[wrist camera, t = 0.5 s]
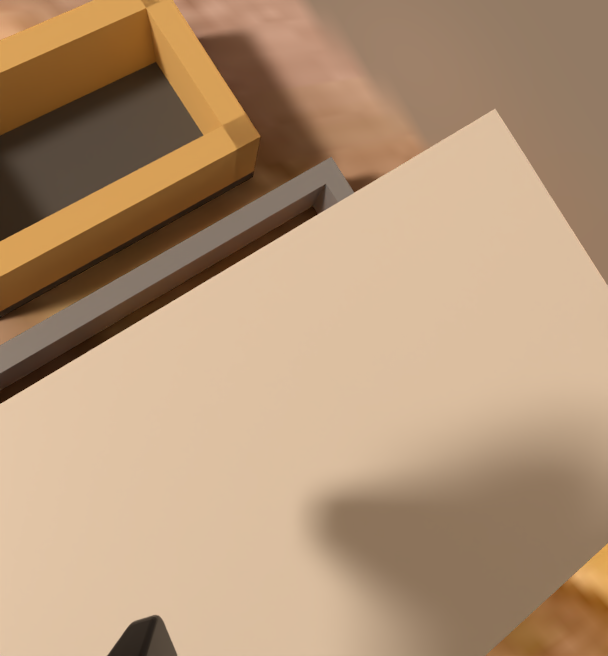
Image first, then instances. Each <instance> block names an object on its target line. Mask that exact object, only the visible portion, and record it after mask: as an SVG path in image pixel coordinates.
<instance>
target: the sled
mask: <svg viewBox="0 0 608 656" xmlns="http://www.w3.org/2000/svg"><path fill="white" fill-rule="evenodd" d="M353 193H354V191H353V190H352V188H351V187H350V185H349V184H348V182H347V180H346V179H345V177H344V176H343V174H342V173H341V171H340V170H339V168H338V166H337V165H336V163H335V162H334V160H333V159H332V157H330V158H328V159H327V160H325V161H323V162H321V163H320V164H318V165H316V166H314V167H313V168H311V169H309V170H307V171H306V172H304V173H302V174H300V175H299V176H297V177H295V178H293V179H292V180H290V181H288V182H286V183H285V184H283V185H281V186H279V187H278V188H276V189H274V190H272V191H270V192H269V193H267V194H265V195H263V196H262V197H260V198H258V199H256V200H255V201H253V202H251V203H249V204H248V205H246V206H244V207H242V208H241V209H239V210H237V211H235V212H234V213H232V214H230V215H228V216H227V217H225V218H223V219H221V220H220V221H218V222H216V223H214V224H213V225H211V226H209V227H207V228H206V229H204V230H202V231H200V232H198V233H197V234H195V235H193V236H191V237H190V238H188V239H186V240H184V241H183V242H181V243H179V244H177V245H176V246H174V247H172V248H170V249H169V250H167V251H165V252H163V253H162V254H160V255H158V256H156V257H155V258H153V259H151V260H149V261H148V262H146V263H144V264H142V265H141V266H139V267H137V268H135V269H134V270H132V271H130V272H128V273H126V274H125V275H123V276H121V277H119V278H118V279H116V280H114V281H112V282H111V283H109V284H107V285H105V286H104V287H102V288H100V289H98V290H97V291H95V292H93V293H91V294H90V295H88V296H86V297H84V298H83V299H81V300H79V301H77V302H76V303H74V304H72V305H70V306H69V307H67V308H65V309H63V310H62V311H60V312H58V313H56V314H54V315H53V316H51V317H49V318H47V319H46V320H44V321H42V322H40V323H39V324H37V325H35V326H33V327H32V328H30V329H28V330H26V331H25V332H23V333H21V334H19V335H18V336H16V337H14V338H12V339H11V340H9V341H7V342H5V343H4V344H2V345H0V391H1V390H2V389H4V388H6V387H7V386H9V385H11V384H12V383H14V382H16V381H18V380H19V379H21V378H23V377H24V376H26V375H28V374H29V373H31V372H33V371H34V370H36V369H38V368H40V367H41V366H43V365H45V364H46V363H48V362H50V361H51V360H53V359H55V358H56V357H58V356H60V355H62V354H63V353H65V352H67V351H68V350H70V349H72V348H73V347H75V346H77V345H79V344H80V343H82V342H84V341H85V340H87V339H89V338H90V337H92V336H94V335H95V334H97V333H99V332H101V331H102V330H104V329H106V328H107V327H109V326H111V325H112V324H114V323H116V322H117V321H119V320H121V319H123V318H124V317H126V316H128V315H129V314H131V313H133V312H134V311H136V310H138V309H139V308H141V307H143V306H145V305H146V304H148V303H150V302H151V301H153V300H155V299H156V298H158V297H160V296H162V295H163V294H165V293H167V292H168V291H170V290H172V289H173V288H175V287H177V286H178V285H180V284H182V283H184V282H185V281H187V280H189V279H190V278H192V277H194V276H195V275H197V274H199V273H200V272H202V271H204V270H206V269H207V268H209V267H211V266H212V265H214V264H216V263H217V262H219V261H221V260H222V259H224V258H226V257H228V256H229V255H231V254H233V253H234V252H236V251H238V250H239V249H241V248H243V247H245V246H246V245H248V244H250V243H251V242H253V241H255V240H256V239H258V238H260V237H261V236H263V235H265V234H267V233H268V232H270V231H272V230H273V229H275V228H277V227H278V226H280V225H282V224H283V223H285V222H287V221H289V220H290V219H292V218H294V217H295V216H297V215H299V214H300V213H302V212H304V211H305V210H307V209H309V208H311V207H312V206H313V207H314V209H315V210H316V212H317V213H318V214H320V213H321V212H323V211H325V210H326V209H328V208H330V207H331V206H333V205H335V204H336V203H338V202H340V201H341V200H343V199H345V198H346V197H348V196H350V195H351V194H353Z"/></svg>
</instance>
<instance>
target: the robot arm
mask: <svg viewBox="0 0 608 656" xmlns="http://www.w3.org/2000/svg"><path fill="white" fill-rule="evenodd" d="M107 656H177V653H176V650H175V648H174V645H173V643H172V641H171V638H170V636H169V633H168V631H167V629H166V626H165V624H164V621H163V620H162V618H161V617H160V616H159V615H152V616H149V617H145V618H142V619H139V620H136V621H134V622H132V623H131V624H130V625H129V626H128V627H127V628H126V630H125V631H124V633H123V634H122V635H121V637H120V638H119V640H118V641H117V642H116V644H115V645H114V647H113V648H112V649H111V651H110V652H109V654H108V655H107Z"/></svg>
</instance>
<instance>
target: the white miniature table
mask: <svg viewBox="0 0 608 656" xmlns="http://www.w3.org/2000/svg"><path fill="white" fill-rule="evenodd" d="M607 543H608V285H607V284H606V282H605V281H604V279H603V278H602V276H601V275H600V273H599V271H598V270H597V268H596V267H595V265H594V263H593V262H592V261H591V259H590V257H589V256H588V254H587V252H586V251H585V249H584V248H583V246H582V245H581V243H580V241H579V240H578V238H577V237H576V235H575V233H574V232H573V230H572V229H571V227H570V226H569V224H568V222H567V221H566V219H565V218H564V216H563V215H562V213H561V212H560V210H559V208H558V207H557V205H556V204H555V202H554V200H553V199H552V198H551V196H550V194H549V193H548V191H547V189H546V188H545V186H544V185H543V183H542V182H541V180H540V178H539V177H538V175H537V174H536V172H535V171H534V169H533V168H532V166H531V164H530V163H529V161H528V160H527V158H526V156H525V155H524V153H523V152H522V150H521V149H520V147H519V145H518V144H517V142H516V141H515V139H514V138H513V136H512V135H511V133H510V131H509V130H508V128H507V127H506V125H505V124H504V122H503V120H502V119H501V117H500V116H499V114H498V112H497V111H496V109H494V110H492V111H491V112H489V113H487V114H486V115H484V116H482V117H481V118H479V119H477V120H476V121H474V122H472V123H470V124H469V125H467V126H465V127H464V128H462V129H461V130H459V131H457V132H455V133H454V134H452V135H450V136H449V137H447V138H445V139H444V140H442V141H440V142H439V143H437V144H435V145H434V146H432V147H430V148H429V149H427V150H425V151H424V152H422V153H420V154H418V155H417V156H415V157H413V158H412V159H410V160H408V161H407V162H405V163H403V164H402V165H400V166H398V167H397V168H395V169H393V170H392V171H390V172H388V173H387V174H385V175H383V176H382V177H380V178H378V179H377V180H375V181H373V182H372V183H370V184H368V185H367V186H365V187H363V188H361V189H360V190H358V191H356V192H355V193H353V194H351V195H350V196H348V197H346V198H345V199H343V200H341V201H340V202H338V203H336V204H335V205H333V206H331V207H330V208H328V209H326V210H325V211H323V212H321V213H320V214H318V215H316V216H315V217H313V218H311V219H310V220H308V221H306V222H304V223H303V224H301V225H299V226H298V227H296V228H294V229H293V230H291V231H289V232H288V233H286V234H284V235H283V236H281V237H279V238H278V239H276V240H274V241H273V242H271V243H269V244H268V245H266V246H264V247H263V248H261V249H259V250H258V251H256V252H254V253H253V254H251V255H249V256H247V257H246V258H244V259H242V260H241V261H239V262H237V263H236V264H234V265H232V266H231V267H229V268H227V269H226V270H224V271H222V272H221V273H219V274H217V275H216V276H214V277H212V278H211V279H209V280H207V281H206V282H204V283H202V284H201V285H199V286H197V287H196V288H194V289H192V290H191V291H189V292H187V293H185V294H184V295H182V296H180V297H179V298H177V299H175V300H174V301H172V302H170V303H169V304H167V305H165V306H164V307H162V308H160V309H159V310H157V311H155V312H154V313H152V314H150V315H149V316H147V317H145V318H144V319H142V320H140V321H139V322H137V323H135V324H134V325H132V326H130V327H128V328H127V329H125V330H123V331H122V332H120V333H118V334H117V335H115V336H113V337H112V338H110V339H108V340H107V341H105V342H103V343H102V344H100V345H98V346H97V347H95V348H93V349H92V350H90V351H88V352H87V353H85V354H83V355H82V356H80V357H78V358H77V359H75V360H73V361H71V362H70V363H68V364H66V365H65V366H63V367H61V368H60V369H58V370H56V371H55V372H53V373H51V374H50V375H48V376H46V377H45V378H43V379H41V380H40V381H38V382H36V383H35V384H33V385H31V386H30V387H28V388H26V389H25V390H23V391H21V392H20V393H18V394H16V395H14V396H13V397H11V398H9V399H8V400H6V401H4V402H3V403H1V404H0V656H107V655H108V654H109V652H110V651H111V649H112V648H113V647H114V645H115V644H116V642H117V641H118V640H119V638H120V637H121V635H122V634H123V633H124V631H125V630H126V628H127V627H128V626H129V625H130V624H131V623H132V622H134V621H136V620H139V619H142V618H145V617H149V616H152V615H159V616H160V617H161V618H162V620H163V621H164V624H165V626H166V629H167V631H168V633H169V636H170V638H171V641H172V643H173V645H174V648H175V650H176V653H177V656H485V655H487V654H488V653H489V652H490V651H491V650H492V649H493V648H494V647H495V646H496V645H497V644H498V643H500V642H501V641H502V640H503V639H504V638H505V637H506V636H507V635H508V634H509V633H510V632H512V631H513V630H514V629H515V628H516V627H517V626H518V625H519V624H520V623H521V622H522V621H524V620H525V619H526V618H527V617H528V616H529V615H530V614H531V613H532V612H533V611H534V610H535V609H537V608H538V607H539V606H540V605H541V604H542V603H543V602H544V601H545V600H546V599H547V598H549V597H550V596H551V595H552V594H553V593H554V592H555V591H556V590H557V589H558V588H559V587H561V586H562V585H563V584H564V583H565V582H566V581H567V580H568V579H569V578H570V577H571V576H572V575H574V574H575V573H576V572H577V571H578V570H579V569H580V568H581V567H582V566H583V565H584V564H586V563H587V562H588V561H589V560H590V559H591V558H592V557H593V556H594V555H595V554H596V553H597V552H599V551H600V550H601V549H602V548H603V547H604V546H605V545H606V544H607Z"/></svg>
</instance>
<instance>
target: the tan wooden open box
mask: <svg viewBox="0 0 608 656" xmlns="http://www.w3.org/2000/svg"><path fill="white" fill-rule="evenodd" d="M260 137H261V136H260V135H259V133H258V132H257V130H256V129H255V127H254V126H253V124H252V122H251V121H250V119H249V118H248V116H247V115H246V113H245V112H244V110H243V109H242V107H241V105H240V104H239V102H238V101H237V99H236V98H235V96H234V95H233V93H232V91H231V90H230V88H229V87H228V85H227V84H226V82H225V81H224V79H223V78H222V76H221V74H220V73H219V71H218V70H217V68H216V67H215V65H214V64H213V62H212V60H211V59H210V57H209V56H208V54H207V53H206V51H205V50H204V48H203V47H202V45H201V43H200V42H199V40H198V39H197V37H196V36H195V34H194V33H193V31H192V29H191V28H190V26H189V25H188V23H187V22H186V20H185V19H184V17H183V16H182V14H181V12H180V11H179V9H178V8H177V6H176V5H175V3H174V2H173V0H93V1H91V2H89V3H86V4H84V5H82V6H79V7H77V8H75V9H72V10H70V11H68V12H65V13H63V14H61V15H58V16H56V17H54V18H51V19H49V20H47V21H44V22H42V23H40V24H37V25H35V26H33V27H30V28H28V29H26V30H23V31H21V32H19V33H16V34H14V35H12V36H9V37H7V38H5V39H2V40H0V317H2V316H4V315H6V314H7V313H9V312H11V311H13V310H15V309H16V308H18V307H20V306H22V305H24V304H25V303H27V302H29V301H31V300H33V299H34V298H36V297H38V296H40V295H41V294H43V293H45V292H47V291H49V290H50V289H52V288H54V287H56V286H58V285H59V284H61V283H63V282H65V281H67V280H68V279H70V278H72V277H74V276H76V275H77V274H79V273H81V272H83V271H85V270H86V269H88V268H90V267H92V266H94V265H95V264H97V263H99V262H101V261H103V260H104V259H106V258H108V257H110V256H112V255H113V254H115V253H117V252H119V251H121V250H122V249H124V248H126V247H128V246H130V245H131V244H133V243H135V242H137V241H139V240H140V239H142V238H144V237H146V236H148V235H149V234H151V233H153V232H155V231H156V230H158V229H160V228H162V227H164V226H165V225H167V224H169V223H171V222H173V221H174V220H176V219H178V218H180V217H182V216H183V215H185V214H187V213H189V212H191V211H192V210H194V209H196V208H198V207H200V206H201V205H203V204H205V203H207V202H209V201H210V200H212V199H214V198H216V197H218V196H219V195H221V194H223V193H225V192H227V191H228V190H230V189H232V188H234V187H236V186H237V185H239V184H241V183H243V182H245V181H246V180H248V179H250V178H252V177H253V173H254V168H255V163H256V158H257V152H258V147H259V142H260Z"/></svg>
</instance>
